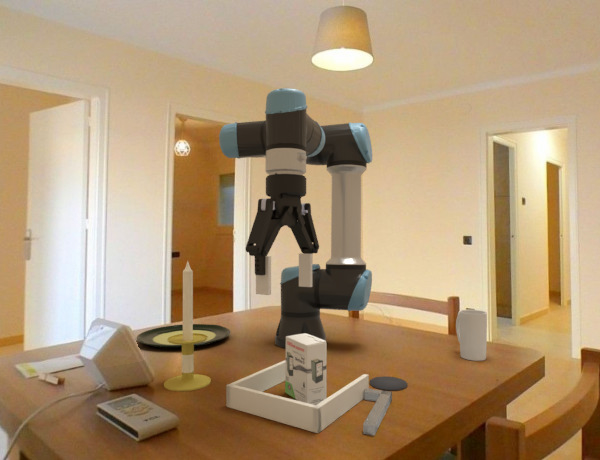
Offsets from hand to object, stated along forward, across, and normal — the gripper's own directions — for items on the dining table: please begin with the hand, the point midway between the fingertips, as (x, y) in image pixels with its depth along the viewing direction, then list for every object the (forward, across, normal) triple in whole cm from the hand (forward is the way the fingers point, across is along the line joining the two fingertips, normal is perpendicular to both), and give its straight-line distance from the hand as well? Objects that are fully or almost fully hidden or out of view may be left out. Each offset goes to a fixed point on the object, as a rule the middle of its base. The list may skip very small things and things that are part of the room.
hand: (286, 290), depth 79 cm
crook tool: (+22, +7, -14) cm, 27 cm away
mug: (+22, +55, -21) cm, 63 cm away
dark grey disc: (+22, +23, -11) cm, 34 cm away
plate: (+22, +27, +56) cm, 66 cm away
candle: (+22, +1, +26) cm, 35 cm away
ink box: (+22, +8, 0) cm, 23 cm away
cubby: (+22, +6, 0) cm, 23 cm away
